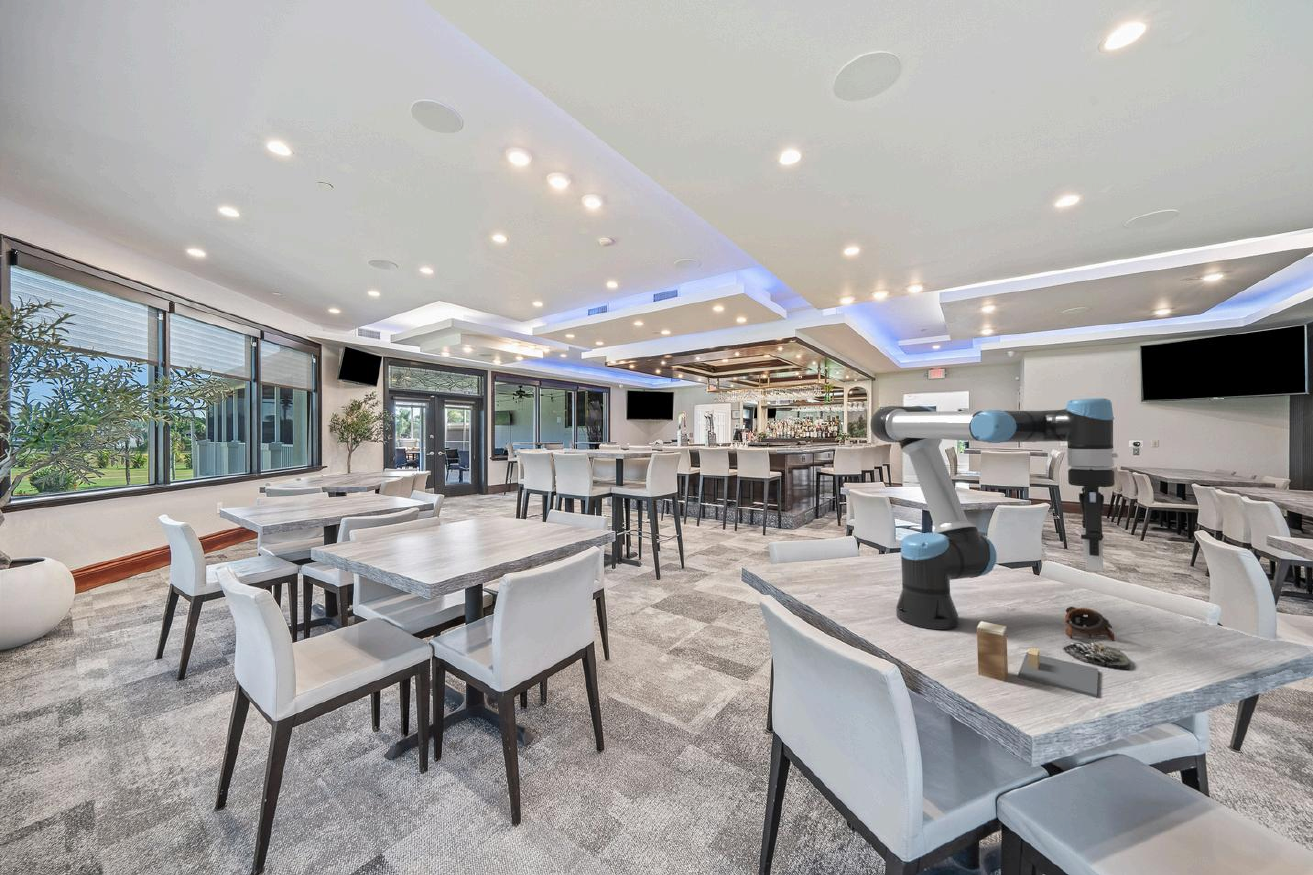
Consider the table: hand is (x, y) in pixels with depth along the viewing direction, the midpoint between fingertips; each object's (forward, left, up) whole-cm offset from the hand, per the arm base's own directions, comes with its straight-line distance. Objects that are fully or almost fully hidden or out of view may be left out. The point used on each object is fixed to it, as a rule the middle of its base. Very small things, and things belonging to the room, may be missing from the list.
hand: (1092, 563), depth 103 cm
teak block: (-16, -21, -22) cm, 34 cm away
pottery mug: (-2, +18, -22) cm, 28 cm away
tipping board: (-6, -12, -22) cm, 25 cm away
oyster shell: (0, +4, -23) cm, 23 cm away
